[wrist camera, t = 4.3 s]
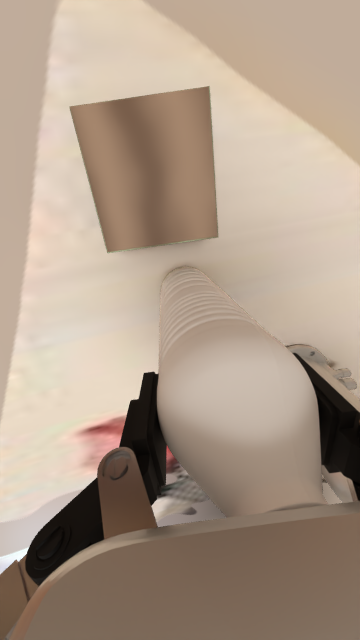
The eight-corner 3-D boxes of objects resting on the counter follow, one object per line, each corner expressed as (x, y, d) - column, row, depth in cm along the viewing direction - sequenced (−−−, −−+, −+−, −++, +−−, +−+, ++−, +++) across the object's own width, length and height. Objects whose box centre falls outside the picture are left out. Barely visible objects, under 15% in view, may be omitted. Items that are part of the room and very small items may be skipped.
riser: (196, 130, 24) (209, 84, 16) (205, 235, 28) (218, 237, 21) (99, 144, 24) (68, 105, 16) (122, 247, 28) (106, 253, 21)
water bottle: (150, 295, 27) (76, 644, 4) (183, 254, 26) (385, 434, 2) (199, 333, 30) (332, 680, 6) (232, 298, 28) (559, 590, 5)
